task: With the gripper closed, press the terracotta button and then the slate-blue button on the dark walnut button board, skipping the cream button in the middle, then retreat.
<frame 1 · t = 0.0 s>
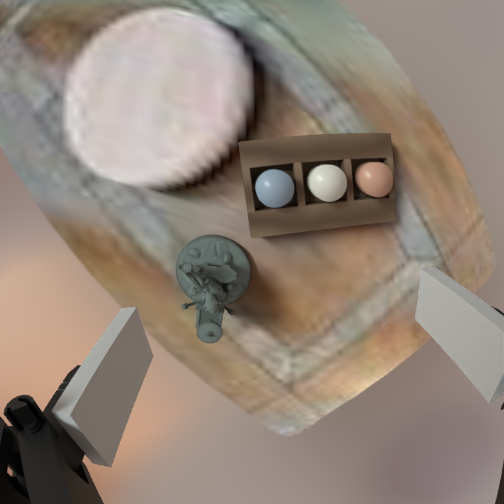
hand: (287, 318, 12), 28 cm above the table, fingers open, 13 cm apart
button board: (318, 180, 38), on the table
button cream: (326, 182, 34), point 4 cm above the table, slide at 0.0 cm
button terracotta: (373, 178, 34), point 4 cm above the table, slide at 0.0 cm
button slate: (273, 187, 34), point 4 cm above the table, slide at 0.0 cm
figurine: (213, 270, 42), on the table
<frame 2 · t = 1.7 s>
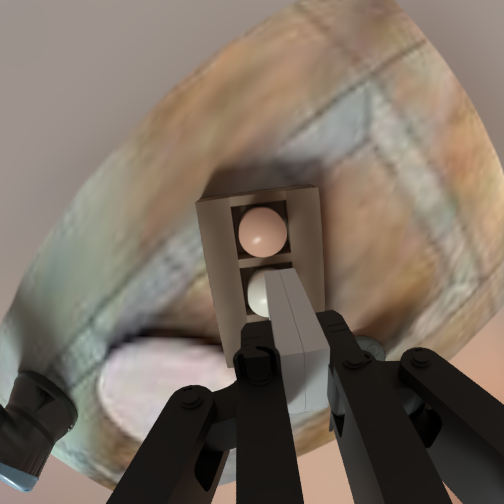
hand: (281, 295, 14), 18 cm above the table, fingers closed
button board: (266, 277, 34), on the table
button cream: (269, 291, 30), point 4 cm above the table, slide at 0.0 cm
button terracotta: (261, 230, 28), point 4 cm above the table, slide at 0.0 cm
figurine: (350, 364, 39), on the table
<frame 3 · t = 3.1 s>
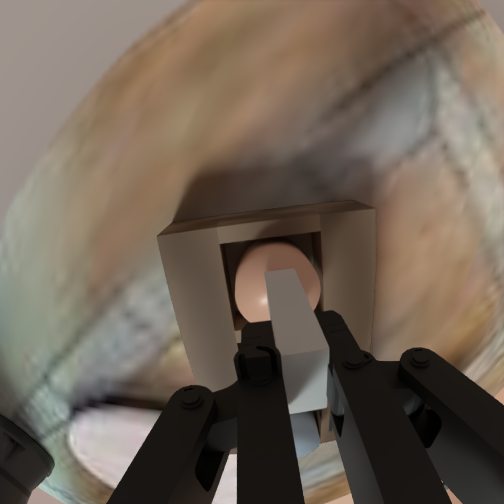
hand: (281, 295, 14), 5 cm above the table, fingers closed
button board: (278, 341, 21), on the table
button terracotta: (275, 282, 16), point 3 cm above the table, slide at 0.6 cm, touching gripper
button slate: (289, 431, 19), point 4 cm above the table, slide at 0.0 cm
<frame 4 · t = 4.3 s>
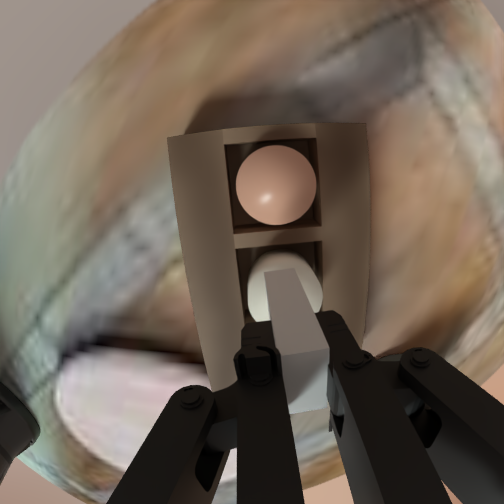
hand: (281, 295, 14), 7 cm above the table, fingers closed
button board: (276, 267, 22), on the table
button cream: (282, 289, 18), point 4 cm above the table, slide at 0.0 cm
button terracotta: (274, 183, 17), point 3 cm above the table, slide at 0.8 cm
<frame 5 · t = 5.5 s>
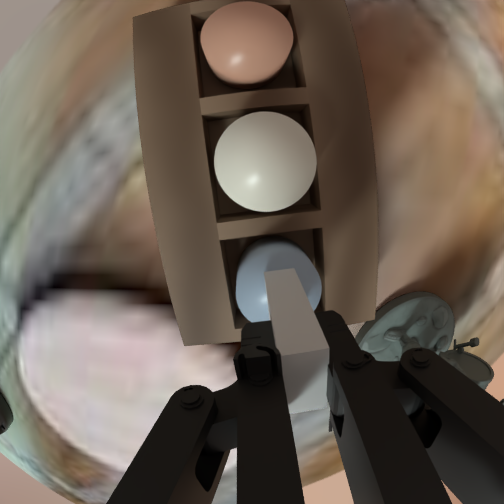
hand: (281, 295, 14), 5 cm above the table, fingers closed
button board: (259, 161, 17), on the table
button cream: (263, 161, 13), point 4 cm above the table, slide at 0.0 cm
button terracotta: (246, 45, 12), point 3 cm above the table, slide at 0.8 cm
button slate: (276, 281, 16), point 3 cm above the table, slide at 0.8 cm, touching gripper
figurine: (402, 344, 22), on the table
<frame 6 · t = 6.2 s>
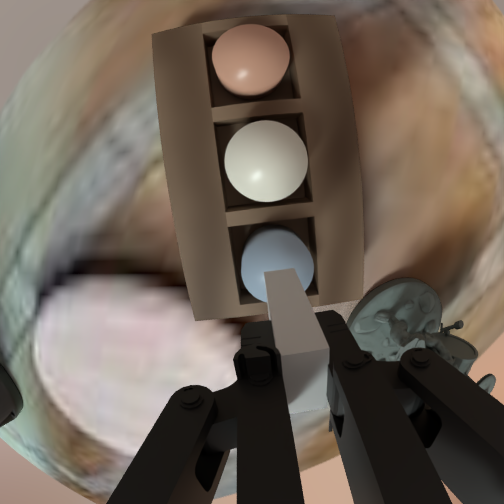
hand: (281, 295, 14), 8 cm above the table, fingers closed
button board: (261, 161, 20), on the table
button cream: (264, 161, 16), point 4 cm above the table, slide at 0.0 cm
button terracotta: (250, 62, 15), point 3 cm above the table, slide at 0.8 cm
button slate: (275, 262, 19), point 3 cm above the table, slide at 0.8 cm
figurine: (392, 327, 25), on the table
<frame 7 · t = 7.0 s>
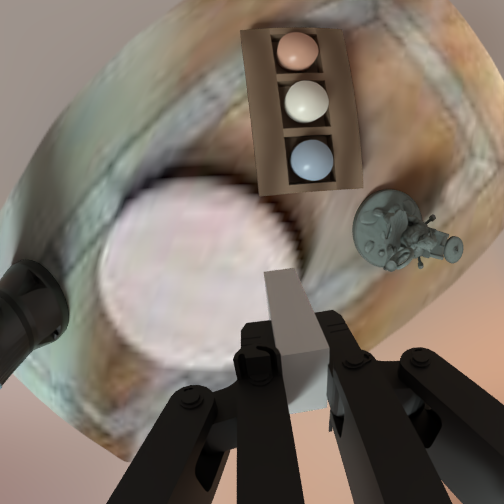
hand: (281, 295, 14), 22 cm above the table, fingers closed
button board: (299, 108, 31), on the table
button cream: (305, 102, 28), point 4 cm above the table, slide at 0.0 cm
button terracotta: (296, 52, 26), point 3 cm above the table, slide at 0.8 cm
button slate: (310, 160, 30), point 3 cm above the table, slide at 0.8 cm
figurine: (387, 227, 36), on the table
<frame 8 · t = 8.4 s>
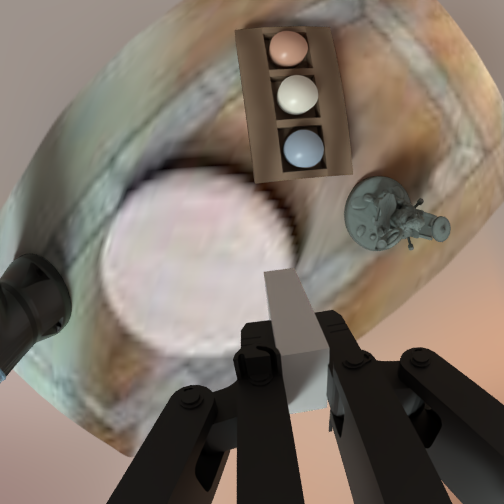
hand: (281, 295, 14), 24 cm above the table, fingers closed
button board: (291, 102, 33), on the table
button cream: (296, 95, 29), point 4 cm above the table, slide at 0.0 cm
button terracotta: (287, 50, 28), point 3 cm above the table, slide at 0.8 cm
button slate: (302, 149, 32), point 3 cm above the table, slide at 0.8 cm
figurine: (377, 213, 38), on the table
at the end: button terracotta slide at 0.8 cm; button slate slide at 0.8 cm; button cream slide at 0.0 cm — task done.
